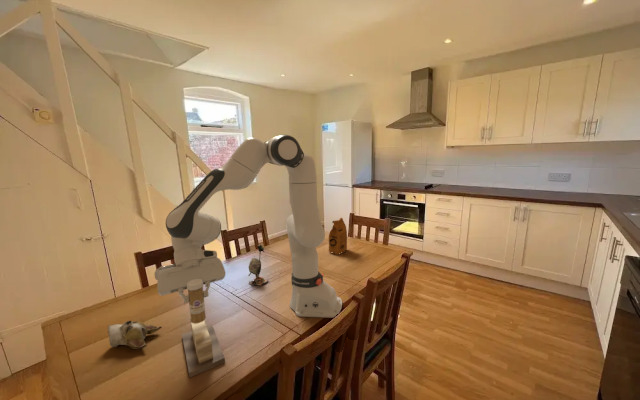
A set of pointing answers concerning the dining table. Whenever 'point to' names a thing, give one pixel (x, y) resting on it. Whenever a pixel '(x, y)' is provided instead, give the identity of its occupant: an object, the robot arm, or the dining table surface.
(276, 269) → the dining table surface
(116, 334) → the ceramic sculpture
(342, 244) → the coffee package
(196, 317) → the sprinkles bottle
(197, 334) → the ridge stand
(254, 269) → the bird figurine
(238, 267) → the dining table surface
